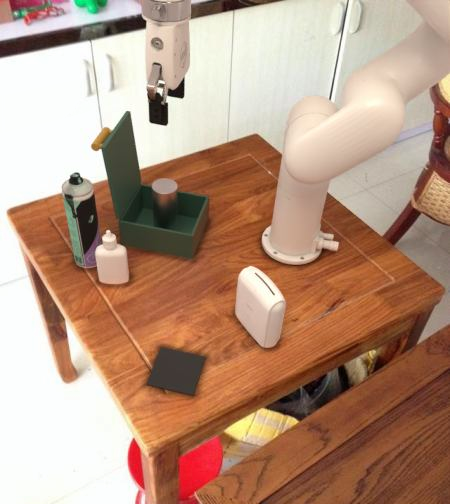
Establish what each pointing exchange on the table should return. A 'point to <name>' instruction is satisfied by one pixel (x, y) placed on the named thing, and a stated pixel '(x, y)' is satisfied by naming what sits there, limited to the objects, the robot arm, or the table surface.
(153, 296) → the table surface
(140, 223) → the chest
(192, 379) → the coaster
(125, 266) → the eye dropper bottle
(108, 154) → the lid
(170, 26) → the robot arm
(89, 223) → the spray can
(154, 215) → the tin can
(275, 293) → the photo printer
